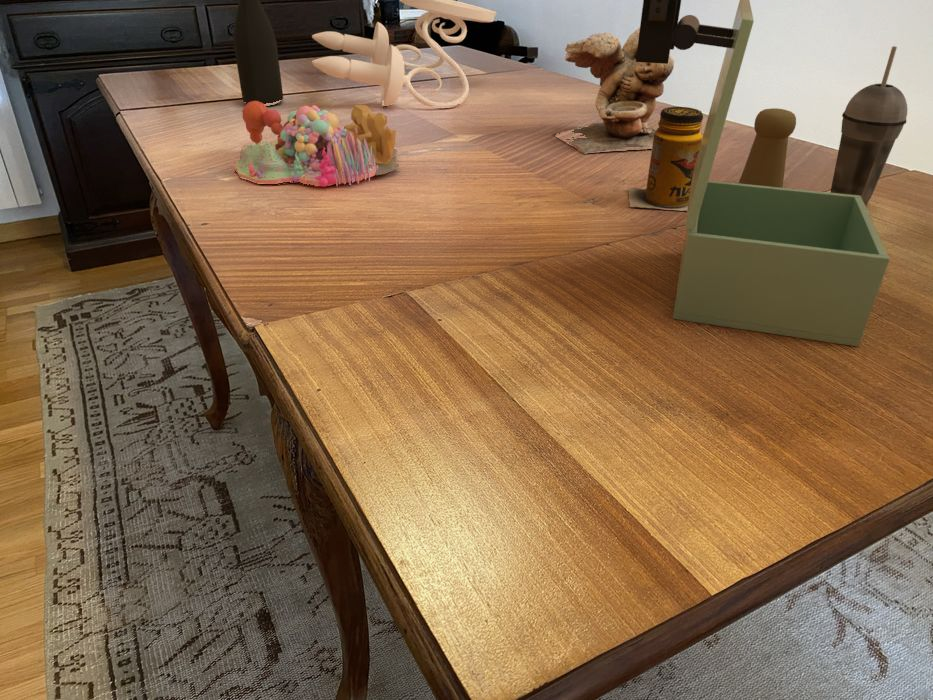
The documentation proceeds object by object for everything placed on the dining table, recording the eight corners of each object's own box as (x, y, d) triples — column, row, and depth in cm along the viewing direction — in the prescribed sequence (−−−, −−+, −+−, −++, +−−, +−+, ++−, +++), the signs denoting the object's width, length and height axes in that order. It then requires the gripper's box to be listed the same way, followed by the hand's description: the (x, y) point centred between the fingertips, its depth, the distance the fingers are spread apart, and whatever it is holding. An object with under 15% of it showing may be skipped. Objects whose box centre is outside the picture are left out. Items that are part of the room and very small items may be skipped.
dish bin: (836, 272, 77) (860, 195, 72) (858, 347, 64) (890, 258, 59) (682, 252, 81) (695, 178, 77) (672, 319, 68) (688, 234, 63)
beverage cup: (881, 203, 95) (933, 44, 85) (872, 219, 90) (927, 52, 80) (823, 193, 99) (867, 38, 88) (812, 208, 94) (857, 46, 83)
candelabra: (476, 0, 169) (318, -36, 159) (522, 27, 132) (319, -17, 122) (459, 86, 179) (309, 58, 169) (497, 135, 142) (308, 102, 132)
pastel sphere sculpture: (376, 137, 121) (373, 81, 116) (422, 178, 103) (420, 114, 98) (226, 153, 113) (216, 93, 108) (247, 201, 95) (235, 131, 90)
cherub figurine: (586, 157, 112) (598, 36, 103) (541, 129, 127) (548, 20, 117) (682, 147, 117) (702, 31, 108) (628, 121, 132) (641, 16, 122)
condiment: (695, 212, 92) (713, 118, 86) (629, 208, 93) (642, 115, 87) (689, 193, 98) (705, 104, 92) (627, 189, 99) (639, 101, 93)
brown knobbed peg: (728, 189, 100) (745, 109, 94) (750, 180, 103) (768, 102, 98) (768, 200, 96) (788, 117, 90) (790, 190, 100) (810, 110, 94)
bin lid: (749, -2, 67) (687, -10, 68) (754, 20, 53) (676, 9, 55) (700, 175, 76) (646, 165, 77) (694, 230, 63) (628, 217, 64)
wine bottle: (250, 98, 146) (225, -70, 130) (288, 99, 146) (267, -70, 130) (238, 107, 139) (209, -69, 123) (277, 108, 139) (254, -69, 123)
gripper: (660, -250, 61) (627, 37, 73) (635, -309, 45) (598, 72, 57) (752, -255, 59) (702, 40, 71) (760, -318, 43) (693, 78, 55)
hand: (655, 54), depth 64 cm, fingers closed on bin lid, 7 cm apart
